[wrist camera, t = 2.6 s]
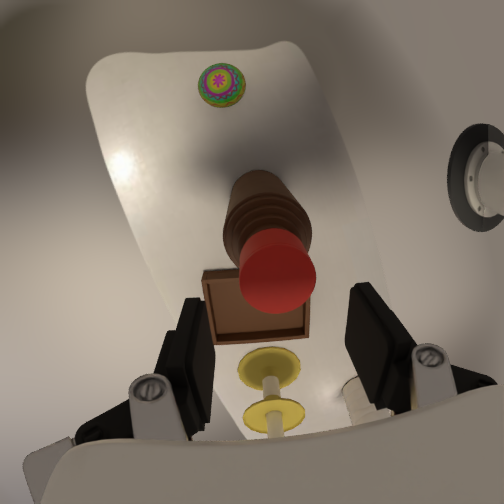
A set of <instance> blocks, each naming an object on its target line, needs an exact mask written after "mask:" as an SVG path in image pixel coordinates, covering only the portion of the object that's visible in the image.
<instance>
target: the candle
mask: <svg viewBox="0 0 504 504" xmlns="http://www.w3.org/2000/svg"><path fill="white" fill-rule="evenodd" d="M300 370H301V369H300V361H299V359H298V358H297V356H296V355H295V354H294V353H292V352H291V351H289V350H287V349H285V348H279V347H265V348H259V349H256V350H254V351H252V352H250V353H248V354H247V355H246V356H245V357H244V358H243V359H242V360H241V361H240V364H239V367H238V373H239V377H240V379H241V380H242V381H243V382H244V383H245V384H246V385H247V386H249V387H251V388H253V389H256V390H263V397H264V400H261V401H259V402H256V403H254V404H252V405H251V406H250V407H248V408H247V409H246V410H245V412H244V415H243V421H244V424H245V425H246V426H247V427H248V428H249V429H251V430H253V431H256V432H259V433H266V434H268V438H278V437H284V432H285V431H288V430H291V429H293V428H295V427H296V426H298V425H299V424H301V422H302V421H303V419H304V418H305V409H304V408H303V407H302V406H301V405H300V403H299V402H296V401H294V400H291V399H286V398H281V395H280V389H281V388H283V387H286V386H288V385H290V384H291V383H292V382H293V381H294V380H295V379H296V378H297V376H298V374H299V372H300Z"/></svg>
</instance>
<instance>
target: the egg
mask: <svg viewBox="0 0 504 504" xmlns="http://www.w3.org/2000/svg"><path fill="white" fill-rule="evenodd" d="M245 87H246V83H245V79H244V76H243V74H242V73H241V71H240V70H239V69H237V68H236V67H234V66H233V65H230V64H226V63H219V64H214V65H212V66H210V67H208V68H207V69H206V70H205V71H204V72H203V73H202V74H201V76H200V78H199V82H198V90H199V93H200V96H201V97H202V99H203V100H204V101H205V102H206V103H208V104H209V105H211V106H214V107H219V108H224V107H229V106H232V105H234V104H235V103H237V102H238V101H239V100H240V99H241V98H242V96H243V94H244V92H245Z"/></svg>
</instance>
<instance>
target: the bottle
mask: <svg viewBox="0 0 504 504" xmlns="http://www.w3.org/2000/svg"><path fill="white" fill-rule="evenodd" d="M271 228H277V229H283V230H286V231H289V232H291V233H293V234H294V235H295V236H297V237H298V238H299V239H300V241H301V242H302V244H303V245H304V247H305V249H306V251H307V253H308V251H309V248H310V244H311V240H312V227H311V223H310V220H309V217H308V215H307V213H306V212H305V210H304V209H303V208H302V206H301V205H300V204H299V202H298V201H297V200H296V199H295V197H294V196H293V195H292V194H291V193H290V191H289V190H288V189H287V188H286V186H285V185H284V184H283V183H282V181H281V180H280V179H279V178H278V177H277V176H275V175H274V174H272V173H270V172H268V171H264V170H254V171H250V172H248V173H245V174H244V175H242V176H241V177H240V178H239V179H238V180H237V181H236V183H235V184H234V186H233V189H232V193H231V197H230V201H229V206H228V210H227V215H226V219H225V224H224V228H223V242H224V246H225V250H226V252H227V254H228V256H229V257H230V259H231V260H232V261H233V263H234V264H235V265H236V266H237V267H238V268H239V266H240V254H241V250H242V248H243V246H244V244H245V243H246V242H247V240H248V239H249V238H250V237H251V236H253V235H254V234H256V233H258V232H260V231H262V230H266V229H271Z"/></svg>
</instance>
